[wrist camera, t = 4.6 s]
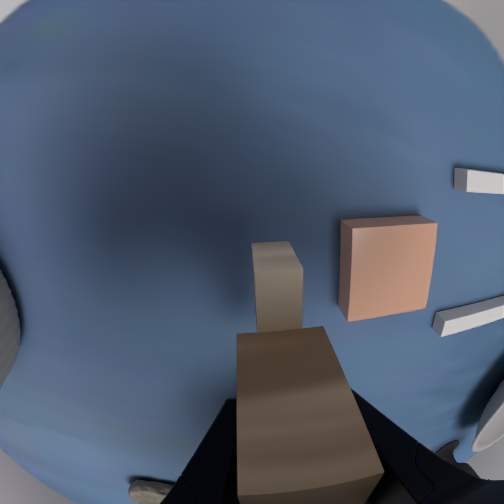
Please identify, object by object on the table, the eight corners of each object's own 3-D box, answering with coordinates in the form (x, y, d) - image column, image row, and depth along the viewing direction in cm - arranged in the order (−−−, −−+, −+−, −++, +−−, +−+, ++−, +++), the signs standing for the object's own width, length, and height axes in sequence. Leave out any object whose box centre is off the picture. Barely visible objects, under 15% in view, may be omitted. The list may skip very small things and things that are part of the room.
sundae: (420, 467, 31) (450, 536, 17) (438, 444, 29) (477, 519, 15) (451, 455, 31) (483, 518, 17) (469, 431, 29) (509, 497, 15)
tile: (409, 292, 20) (425, 308, 18) (336, 303, 20) (347, 321, 18) (417, 214, 18) (437, 222, 16) (338, 218, 18) (352, 228, 16)
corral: (510, 305, 21) (518, 312, 20) (432, 327, 21) (440, 337, 20) (532, 178, 17) (543, 181, 16) (454, 167, 17) (467, 169, 15)
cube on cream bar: (232, 244, 12) (222, 437, 4) (306, 239, 12) (418, 405, 4) (245, 382, 15) (252, 545, 6) (302, 377, 15) (341, 533, 6)
